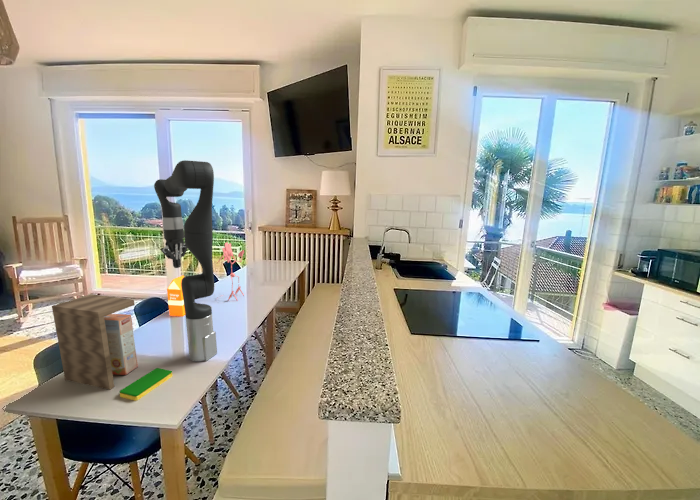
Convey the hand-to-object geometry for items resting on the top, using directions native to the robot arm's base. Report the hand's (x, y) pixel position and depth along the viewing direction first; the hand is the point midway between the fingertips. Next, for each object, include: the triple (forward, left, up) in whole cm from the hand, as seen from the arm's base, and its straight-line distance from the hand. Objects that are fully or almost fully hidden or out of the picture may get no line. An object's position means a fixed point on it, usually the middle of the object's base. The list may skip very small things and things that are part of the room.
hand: (177, 267), depth 131 cm
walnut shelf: (+4, +32, -32) cm, 45 cm away
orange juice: (+22, -22, -32) cm, 45 cm away
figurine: (+12, -50, -32) cm, 61 cm away
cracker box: (+4, +29, -32) cm, 43 cm away
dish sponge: (-16, +33, -33) cm, 49 cm away
